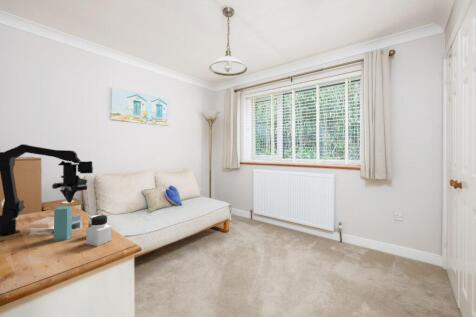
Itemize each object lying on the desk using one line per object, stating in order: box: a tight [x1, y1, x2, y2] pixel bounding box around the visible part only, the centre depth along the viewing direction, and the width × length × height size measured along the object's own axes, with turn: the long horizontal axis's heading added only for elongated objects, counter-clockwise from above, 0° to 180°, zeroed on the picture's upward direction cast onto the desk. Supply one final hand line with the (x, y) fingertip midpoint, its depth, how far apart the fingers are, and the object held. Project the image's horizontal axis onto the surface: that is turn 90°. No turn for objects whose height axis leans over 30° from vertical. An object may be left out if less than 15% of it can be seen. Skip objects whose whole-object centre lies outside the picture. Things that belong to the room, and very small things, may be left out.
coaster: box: [53, 234, 73, 242], centre depth 102 cm, size 7×7×1 cm
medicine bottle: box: [85, 214, 113, 247], centre depth 99 cm, size 7×7×12 cm
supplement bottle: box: [87, 214, 99, 228], centre depth 107 cm, size 5×5×10 cm
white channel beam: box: [72, 221, 83, 232], centre depth 115 cm, size 13×7×4 cm, turn 71°
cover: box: [72, 214, 83, 224], centre depth 114 cm, size 10×7×3 cm
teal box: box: [53, 205, 73, 241], centre depth 102 cm, size 5×5×14 cm
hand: (69, 202), depth 118 cm, fingers closed
